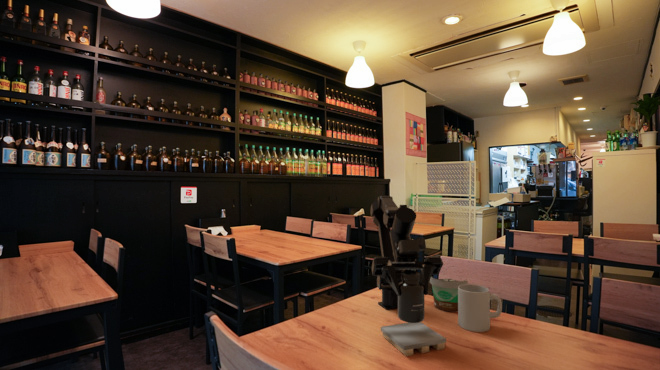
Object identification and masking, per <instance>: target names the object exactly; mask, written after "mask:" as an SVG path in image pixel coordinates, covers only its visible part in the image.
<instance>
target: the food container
mask: <svg viewBox="0 0 660 370" xmlns="http://www.w3.org/2000/svg"><path fill="white" fill-rule="evenodd" d="M429 278H430V279H429V284H431V286H432V287H431V288H432V296H433V304H434V305H433V306H434V307H435V308H436V309H437V310H439V311H442V312H446V313H458V286H460V285H464V284H469V281H468V280H467V278H466V279H465V280H456V279H452V278H435V277H433V275H432V276H431V277H429Z"/></svg>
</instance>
